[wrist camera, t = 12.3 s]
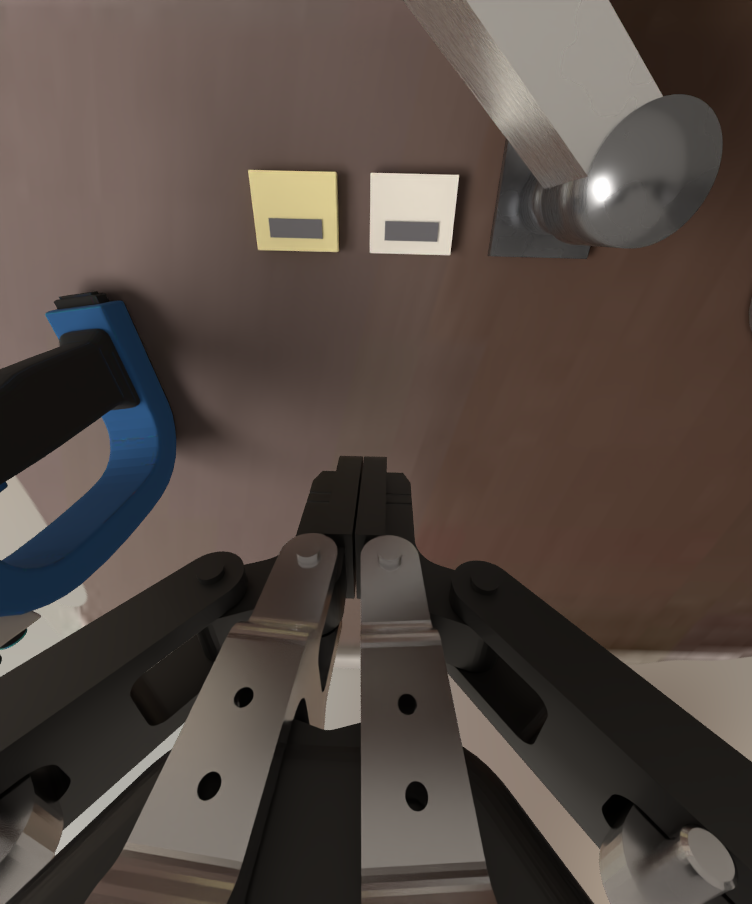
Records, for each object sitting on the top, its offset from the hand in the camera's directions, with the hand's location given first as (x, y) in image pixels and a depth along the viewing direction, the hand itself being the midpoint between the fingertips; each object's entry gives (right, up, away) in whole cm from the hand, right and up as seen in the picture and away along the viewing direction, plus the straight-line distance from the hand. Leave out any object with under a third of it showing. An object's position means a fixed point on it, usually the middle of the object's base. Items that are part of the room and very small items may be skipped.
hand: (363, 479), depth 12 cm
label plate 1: (-4, +16, +11) cm, 19 cm away
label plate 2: (+3, +15, +11) cm, 19 cm away
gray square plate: (+11, +16, +10) cm, 22 cm away
